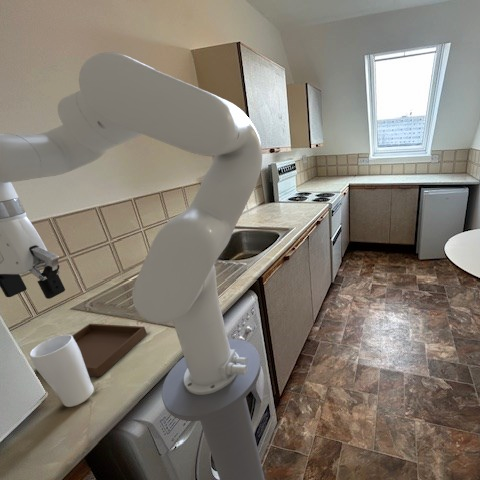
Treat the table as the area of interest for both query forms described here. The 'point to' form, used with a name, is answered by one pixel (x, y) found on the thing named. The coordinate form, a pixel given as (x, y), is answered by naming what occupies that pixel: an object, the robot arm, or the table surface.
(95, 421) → the table surface
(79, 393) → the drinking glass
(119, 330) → the tray
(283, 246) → the table surface
